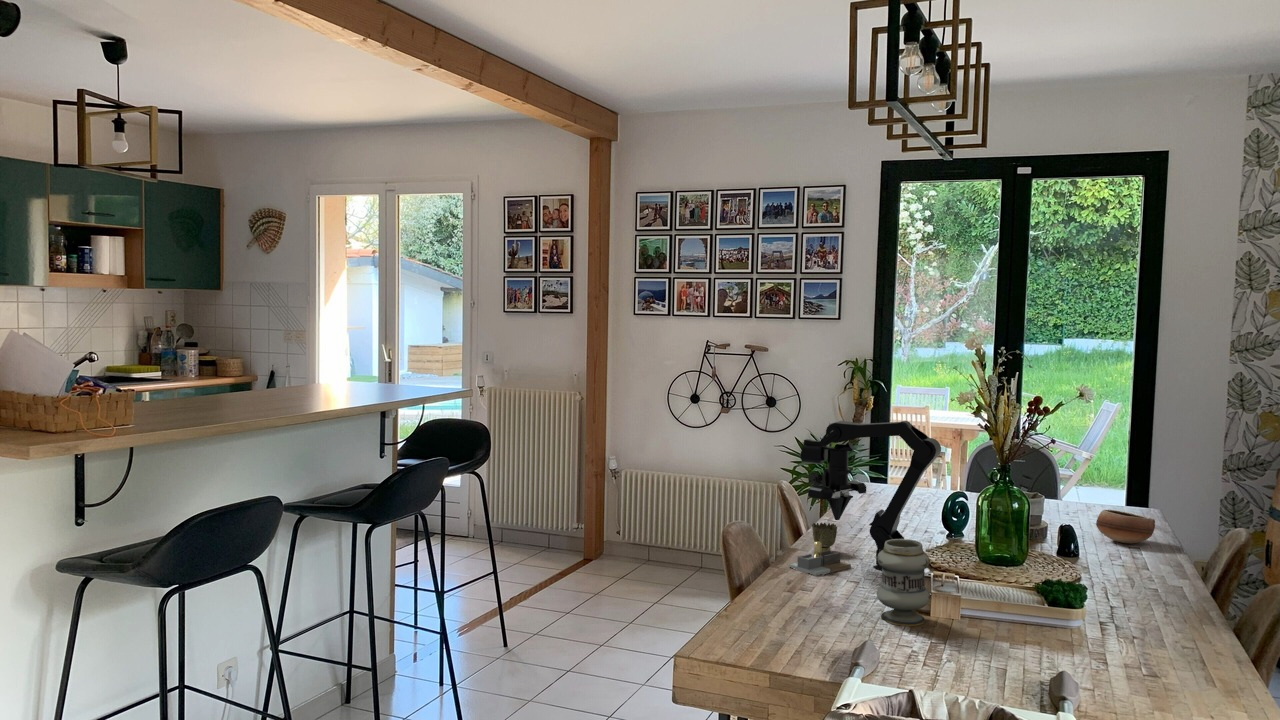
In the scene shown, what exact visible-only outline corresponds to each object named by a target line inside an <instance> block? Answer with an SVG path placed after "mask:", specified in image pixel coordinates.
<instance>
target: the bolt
mask: <svg viewBox="0 0 1280 720" xmlns="http://www.w3.org/2000/svg"><path fill="white" fill-rule="evenodd" d="M815 557H821V542H814V541H813V555H812V556H811V557H807V558H806V559H810V558H815ZM822 564H823V557H821V565H822Z"/></svg>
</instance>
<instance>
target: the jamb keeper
mask: <svg viewBox="0 0 1280 720" xmlns="http://www.w3.org/2000/svg"><path fill="white" fill-rule="evenodd" d="M811 556H813V554H811V553H809V554H804V555H800V556H797V562H794V563H790V564H789V566H788V568H789V567H792V568H795V569H797V570H796V571H798V570H800V571H799V572H801V571H803V572H802V573H805V572H806V573H805V574H808V573H810V574H809V575H811V574H813V575H812V576H815V575H818V576H821V575H820V574H822V575H825V573H826V574H830V573H831V572H830V569H829V568H825V567H822V566H821V557H815V558H810V559H806V558H807V557H811ZM795 569H794V570H795Z"/></svg>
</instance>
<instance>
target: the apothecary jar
mask: <svg viewBox="0 0 1280 720" xmlns="http://www.w3.org/2000/svg"><path fill="white" fill-rule="evenodd" d="M877 561H878V563H879V564H880V565H881V566H882V570H881V574H882V575H881V584H880V585H879V586H878V587H877V590H876V597H877V600H878V601H879V602H880V603H881V604H882V605H884V606H886V607H888V608H890V610H885V611H884V612H882V613H881V614H880V619H881V620H884V621H885V622H886V623H888V624H891V625H896V626H902V627H915V626H916V627H917V626H920V625H923V624H924V623H925V622H926V618H925V617H924V616H923V615H921V614H920V613H917V612H916V611H918V610H920V609H922V608H924V607H926V606H927V605H928V604H929V603H930V602H931V593H930V592H929V590H928V589H927V587H926V586H925V585H926V583H925V581H926V580H925V570H926V569H927V568H928V567H929V566H930V565H931V559H930V557H929V555H928V554H927V553H926V552H925V551H924V549H923V543H922V542H920V541H919V540H914V539H907V538H904V539H892V540H888V541H886V542H885V545H884V549H883V550H882V551H880V552H879V554H878V556H877Z"/></svg>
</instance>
